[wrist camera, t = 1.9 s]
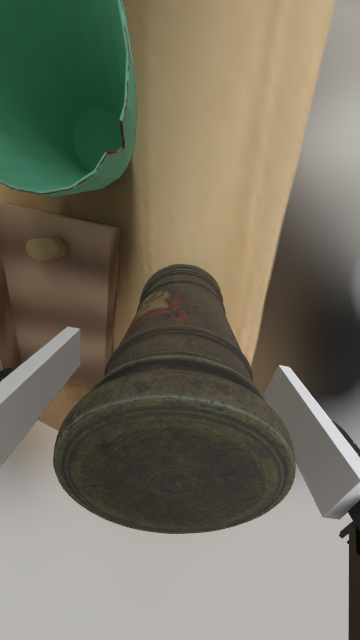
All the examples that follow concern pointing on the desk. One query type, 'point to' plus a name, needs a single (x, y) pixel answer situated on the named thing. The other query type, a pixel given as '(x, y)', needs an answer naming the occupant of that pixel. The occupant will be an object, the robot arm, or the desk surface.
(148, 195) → the desk surface
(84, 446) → the container
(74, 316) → the ledge
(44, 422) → the desk surface
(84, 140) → the mug
